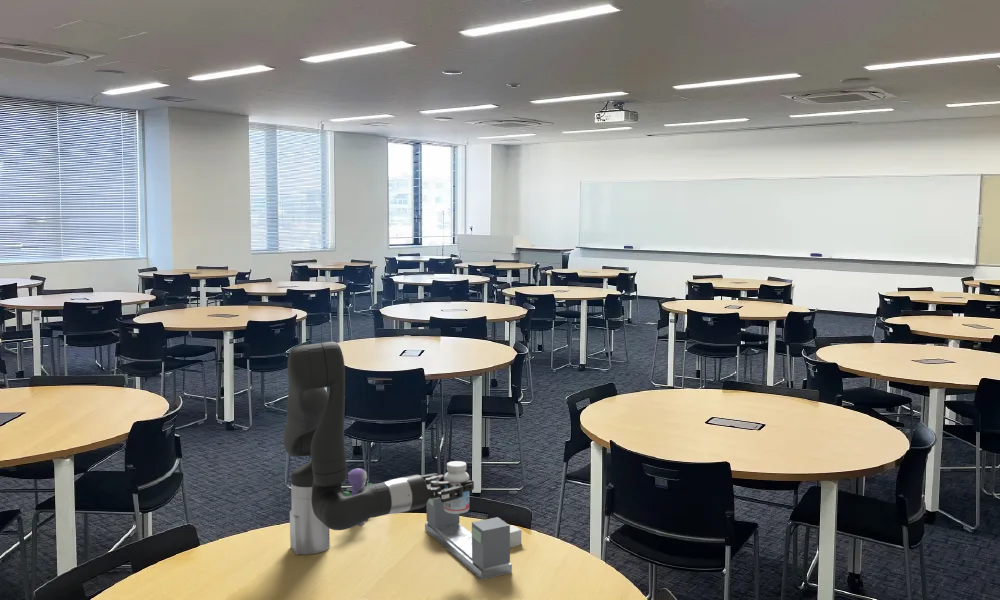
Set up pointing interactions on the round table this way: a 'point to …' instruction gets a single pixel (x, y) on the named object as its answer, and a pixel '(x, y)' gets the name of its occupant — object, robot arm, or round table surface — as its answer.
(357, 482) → the toy
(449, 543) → the rail
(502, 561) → the modules
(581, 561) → the round table surface
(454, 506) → the pill bottle
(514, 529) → the box
